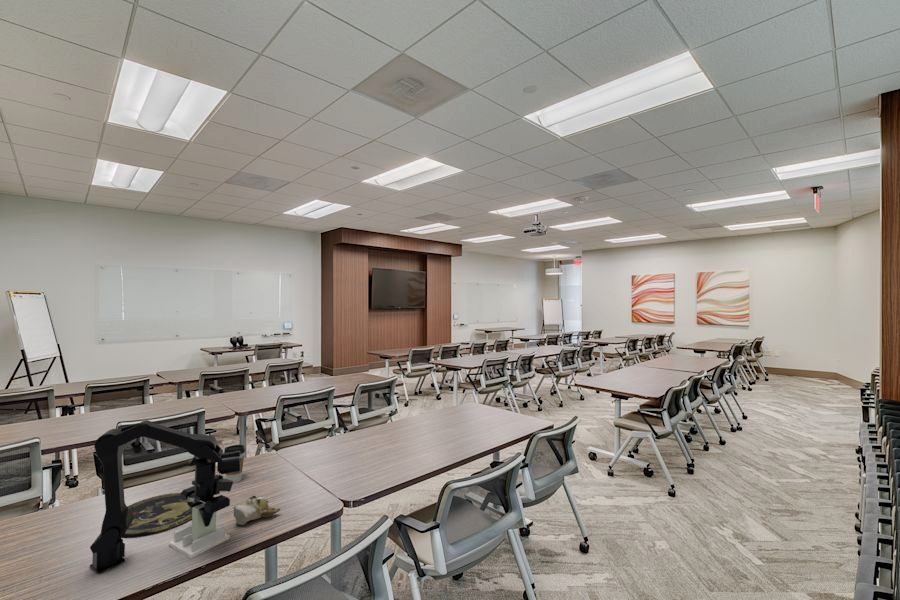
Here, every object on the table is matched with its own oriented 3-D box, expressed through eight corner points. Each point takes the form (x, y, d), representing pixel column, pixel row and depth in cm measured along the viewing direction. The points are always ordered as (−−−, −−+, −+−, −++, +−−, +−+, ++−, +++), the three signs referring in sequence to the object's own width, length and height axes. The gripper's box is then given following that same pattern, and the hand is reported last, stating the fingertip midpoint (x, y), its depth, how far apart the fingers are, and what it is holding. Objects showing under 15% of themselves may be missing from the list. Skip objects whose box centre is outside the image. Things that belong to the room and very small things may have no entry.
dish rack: (191, 558, 120) (191, 545, 120) (169, 545, 127) (169, 533, 127) (229, 538, 131) (229, 526, 131) (207, 527, 137) (207, 516, 137)
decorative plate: (82, 527, 134) (162, 488, 163) (82, 533, 134) (162, 492, 163) (155, 539, 128) (224, 495, 157) (155, 545, 128) (224, 500, 157)
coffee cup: (218, 483, 172) (219, 448, 172) (234, 475, 180) (234, 442, 180) (233, 485, 169) (234, 450, 170) (248, 477, 177) (249, 444, 178)
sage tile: (196, 541, 124) (197, 509, 124) (191, 538, 126) (192, 507, 126) (215, 532, 129) (216, 501, 130) (210, 529, 131) (211, 499, 131)
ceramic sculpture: (227, 497, 141) (268, 485, 153) (225, 521, 141) (266, 508, 152) (241, 506, 134) (282, 493, 146) (238, 533, 134) (280, 517, 146)
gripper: (246, 473, 130) (245, 520, 130) (214, 462, 139) (213, 506, 139) (211, 486, 121) (210, 537, 120) (179, 473, 130) (178, 521, 129)
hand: (204, 524), depth 127 cm, fingers closed on sage tile, 3 cm apart
